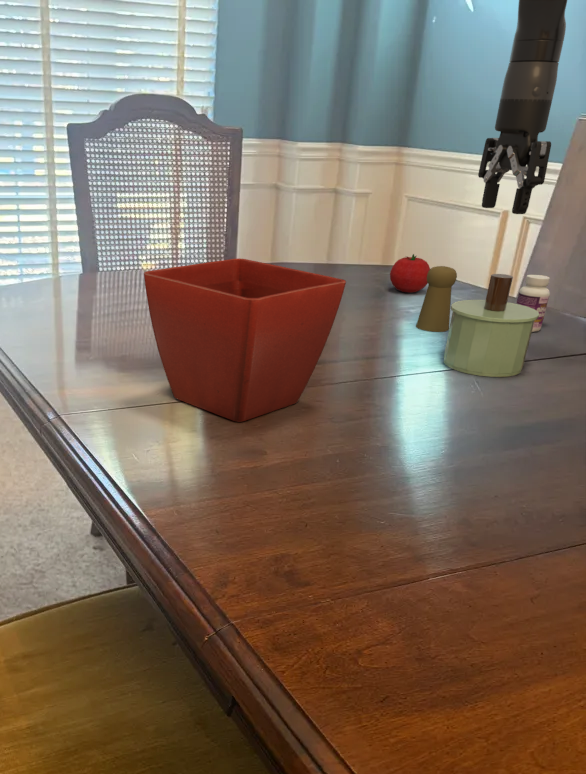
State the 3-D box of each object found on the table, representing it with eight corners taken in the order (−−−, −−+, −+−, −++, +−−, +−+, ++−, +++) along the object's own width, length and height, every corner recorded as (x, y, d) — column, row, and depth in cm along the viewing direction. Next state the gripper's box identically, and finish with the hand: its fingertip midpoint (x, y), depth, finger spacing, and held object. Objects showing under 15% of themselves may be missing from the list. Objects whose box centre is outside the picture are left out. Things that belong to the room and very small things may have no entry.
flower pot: (334, 404, 107) (350, 278, 98) (242, 438, 95) (252, 298, 87) (232, 371, 118) (239, 256, 110) (139, 398, 107) (139, 272, 98)
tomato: (384, 286, 177) (389, 250, 173) (422, 288, 177) (428, 251, 173) (391, 295, 170) (397, 257, 166) (431, 296, 169) (438, 258, 166)
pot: (472, 351, 132) (483, 300, 128) (536, 369, 124) (550, 315, 119) (428, 361, 126) (438, 309, 121) (492, 381, 117) (505, 325, 113)
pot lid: (482, 303, 129) (490, 265, 126) (554, 319, 120) (565, 279, 117) (432, 312, 122) (440, 272, 119) (505, 330, 113) (515, 288, 110)
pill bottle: (537, 334, 143) (551, 280, 138) (507, 329, 145) (520, 276, 141) (542, 328, 147) (556, 275, 142) (513, 324, 149) (526, 272, 145)
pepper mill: (453, 332, 143) (465, 270, 137) (420, 331, 143) (431, 269, 137) (443, 324, 148) (454, 264, 142) (412, 323, 148) (422, 263, 142)
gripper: (578, 97, 113) (550, 216, 121) (519, 97, 125) (497, 205, 133) (534, 96, 112) (508, 216, 120) (478, 96, 124) (458, 205, 132)
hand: (502, 210), depth 127 cm, fingers open, 8 cm apart
